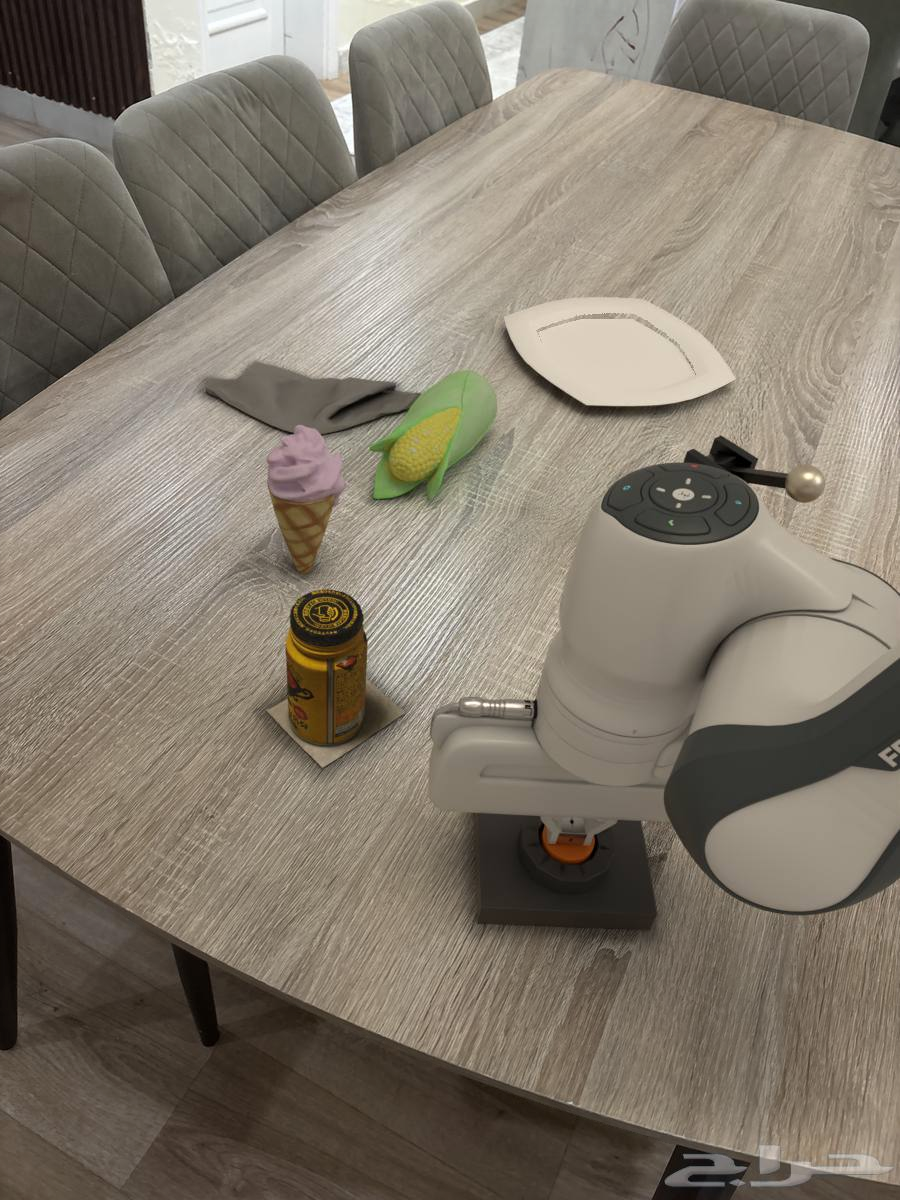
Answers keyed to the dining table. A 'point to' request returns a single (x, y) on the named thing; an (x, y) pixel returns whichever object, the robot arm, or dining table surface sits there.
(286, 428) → the cloth
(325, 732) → the condiment
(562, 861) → the power button
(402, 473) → the corn
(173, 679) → the dining table surface
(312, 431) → the ice cream cone
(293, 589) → the dining table surface
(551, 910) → the dark grey button base
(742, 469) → the switch lever
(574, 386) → the plate
